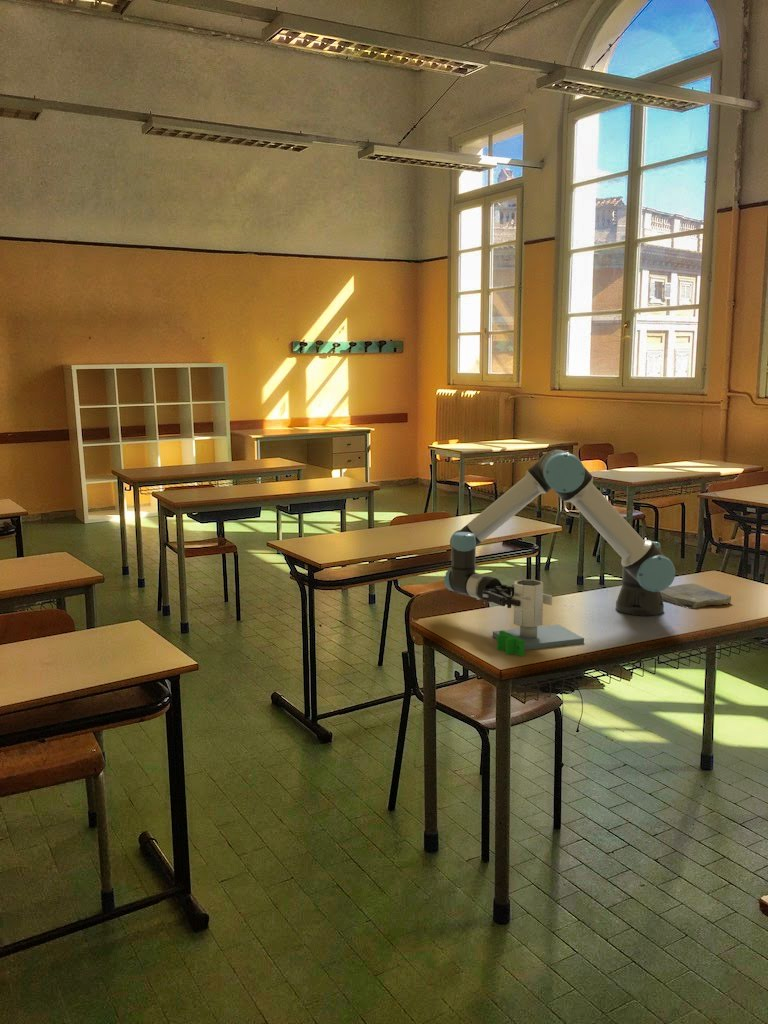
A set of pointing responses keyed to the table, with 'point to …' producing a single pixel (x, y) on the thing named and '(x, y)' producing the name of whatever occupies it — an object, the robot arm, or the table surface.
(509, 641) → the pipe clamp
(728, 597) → the fossil
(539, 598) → the sleeve
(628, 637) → the table surface
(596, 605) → the table surface
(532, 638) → the base
